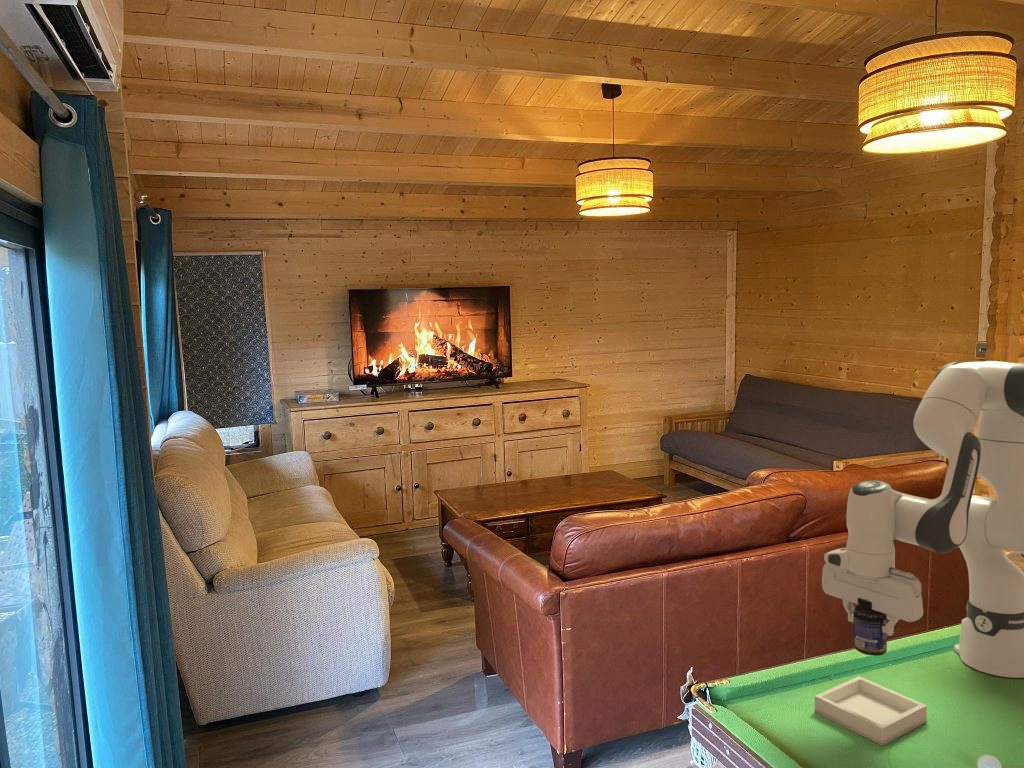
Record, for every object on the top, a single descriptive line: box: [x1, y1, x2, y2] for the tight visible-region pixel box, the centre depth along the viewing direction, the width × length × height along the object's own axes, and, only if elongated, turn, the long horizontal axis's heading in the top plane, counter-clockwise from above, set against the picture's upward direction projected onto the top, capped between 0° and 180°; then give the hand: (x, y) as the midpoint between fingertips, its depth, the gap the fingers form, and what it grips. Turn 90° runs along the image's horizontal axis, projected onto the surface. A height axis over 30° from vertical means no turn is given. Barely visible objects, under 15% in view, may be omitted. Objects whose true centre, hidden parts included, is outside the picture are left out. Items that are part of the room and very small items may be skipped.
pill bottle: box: [853, 598, 888, 657], centre depth 150 cm, size 6×6×11 cm
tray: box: [814, 675, 928, 746], centre depth 151 cm, size 15×15×4 cm
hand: (870, 627), depth 150 cm, fingers closed on pill bottle, 6 cm apart
